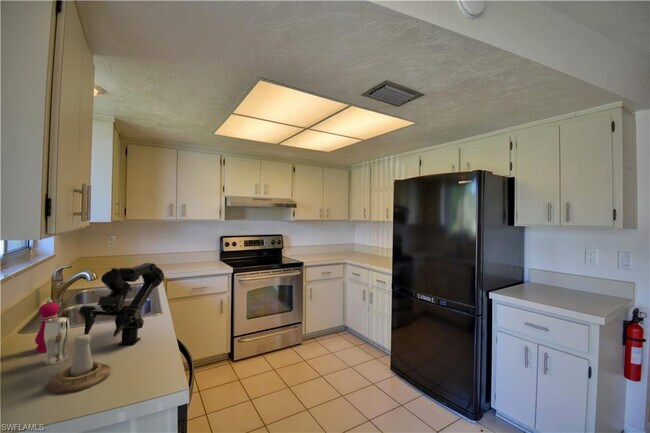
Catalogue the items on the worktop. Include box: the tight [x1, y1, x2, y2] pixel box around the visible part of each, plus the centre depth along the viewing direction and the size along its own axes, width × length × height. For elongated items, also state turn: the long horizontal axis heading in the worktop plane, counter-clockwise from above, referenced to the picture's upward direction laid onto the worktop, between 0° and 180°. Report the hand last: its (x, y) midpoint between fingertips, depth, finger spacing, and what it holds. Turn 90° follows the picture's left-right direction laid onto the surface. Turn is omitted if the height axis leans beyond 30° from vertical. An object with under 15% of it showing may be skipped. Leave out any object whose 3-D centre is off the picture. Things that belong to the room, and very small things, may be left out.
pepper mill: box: [34, 298, 60, 354], centre depth 117 cm, size 7×7×20 cm
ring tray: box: [46, 361, 111, 395], centre depth 97 cm, size 16×16×3 cm
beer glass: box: [44, 316, 71, 365], centre depth 108 cm, size 7×7×15 cm
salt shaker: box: [70, 334, 94, 377], centre depth 97 cm, size 6×6×13 cm
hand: (99, 336), depth 105 cm, fingers open, 9 cm apart
